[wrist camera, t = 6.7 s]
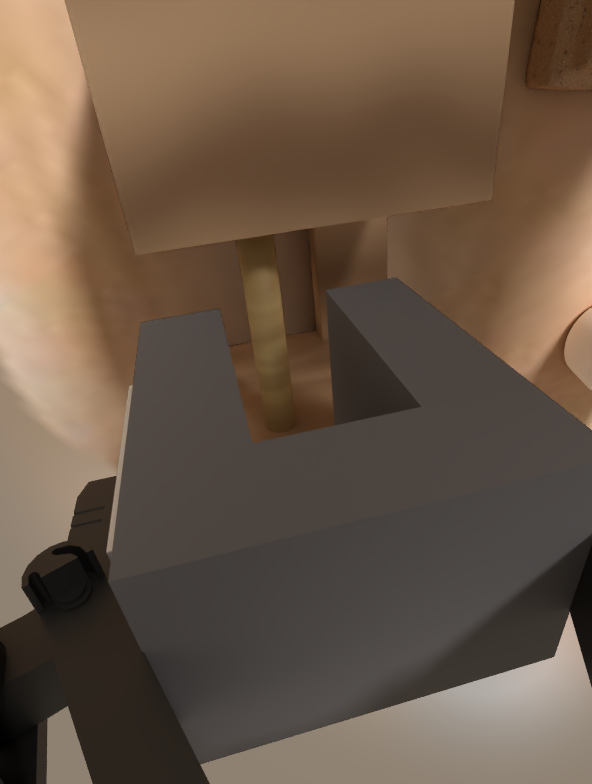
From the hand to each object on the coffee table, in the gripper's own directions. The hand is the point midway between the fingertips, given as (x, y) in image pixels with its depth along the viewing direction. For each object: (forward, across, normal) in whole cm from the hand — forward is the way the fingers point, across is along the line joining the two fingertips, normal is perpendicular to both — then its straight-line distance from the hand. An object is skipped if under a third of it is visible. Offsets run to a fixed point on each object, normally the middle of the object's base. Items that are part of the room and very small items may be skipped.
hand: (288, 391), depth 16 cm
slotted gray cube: (+1, 0, 0) cm, 1 cm away
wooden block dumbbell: (+13, +2, 0) cm, 13 cm away
